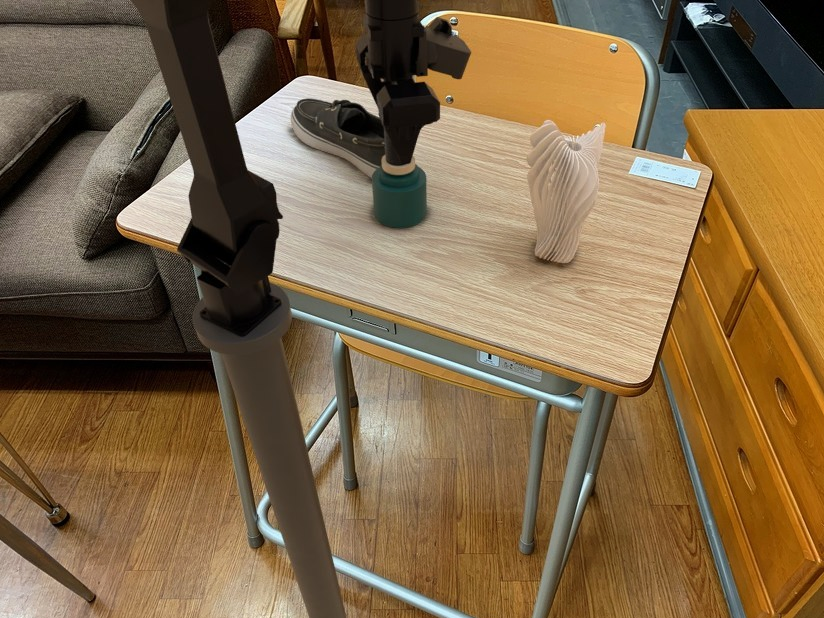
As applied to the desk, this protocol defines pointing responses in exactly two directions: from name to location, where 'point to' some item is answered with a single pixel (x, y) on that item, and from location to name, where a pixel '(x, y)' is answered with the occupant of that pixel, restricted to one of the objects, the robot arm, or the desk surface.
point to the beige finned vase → (563, 187)
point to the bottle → (399, 194)
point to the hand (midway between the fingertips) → (397, 144)
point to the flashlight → (390, 152)
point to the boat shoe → (341, 131)
